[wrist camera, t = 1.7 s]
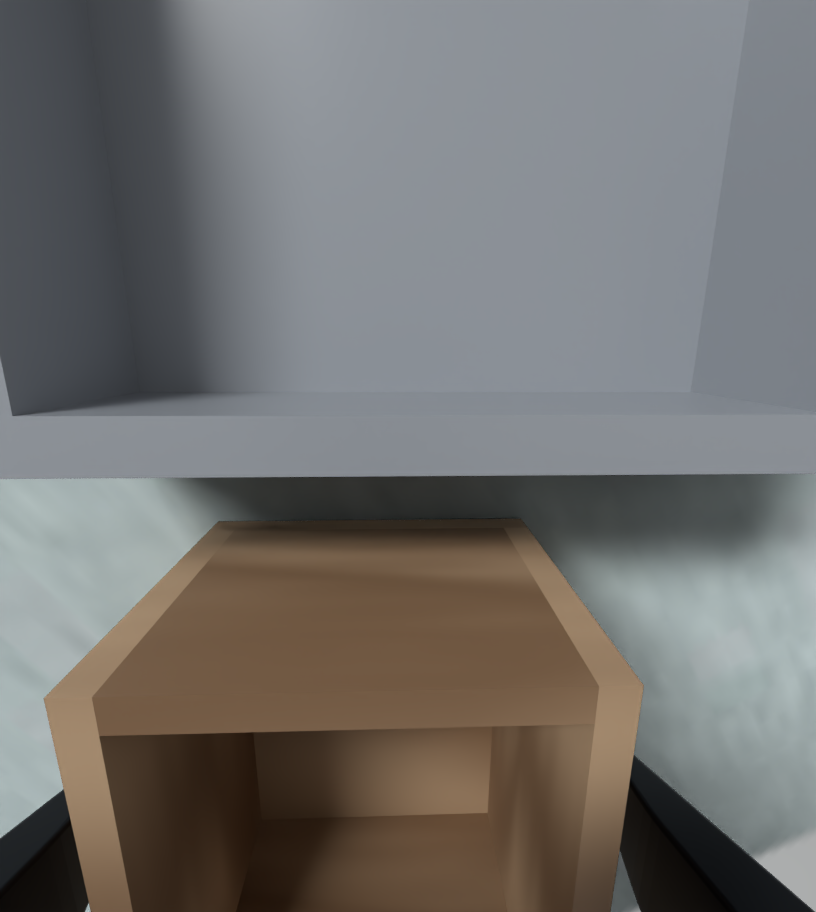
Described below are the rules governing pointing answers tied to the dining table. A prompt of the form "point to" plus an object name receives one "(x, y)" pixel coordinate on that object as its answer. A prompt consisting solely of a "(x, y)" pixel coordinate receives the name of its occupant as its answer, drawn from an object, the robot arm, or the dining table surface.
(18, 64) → the grey crate
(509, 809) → the walnut crate
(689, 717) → the dining table surface
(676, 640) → the dining table surface
